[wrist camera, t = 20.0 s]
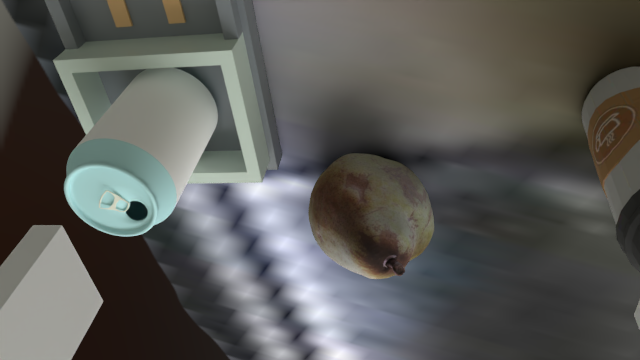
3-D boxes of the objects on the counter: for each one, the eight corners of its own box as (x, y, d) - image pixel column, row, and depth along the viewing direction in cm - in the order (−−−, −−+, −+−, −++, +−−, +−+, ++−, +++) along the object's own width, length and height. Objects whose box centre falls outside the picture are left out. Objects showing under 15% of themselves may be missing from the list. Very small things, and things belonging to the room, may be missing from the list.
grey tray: (22, -113, 36) (-26, -97, 32) (225, -137, 33) (200, -123, 29) (130, 158, 49) (107, 194, 45) (282, 155, 47) (270, 192, 43)
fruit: (454, 175, 46) (465, 284, 36) (387, 238, 51) (383, 347, 42) (353, 113, 43) (337, 213, 34) (294, 186, 49) (267, 290, 39)
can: (207, 59, 40) (145, 154, 30) (229, 140, 44) (180, 245, 34) (118, 64, 41) (32, 157, 31) (148, 142, 45) (79, 244, 36)
